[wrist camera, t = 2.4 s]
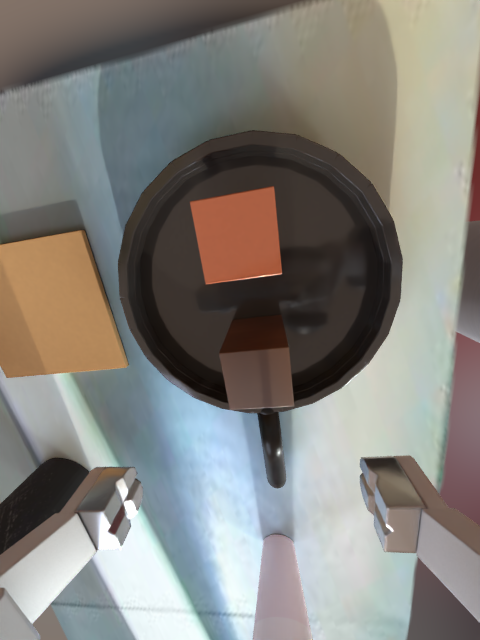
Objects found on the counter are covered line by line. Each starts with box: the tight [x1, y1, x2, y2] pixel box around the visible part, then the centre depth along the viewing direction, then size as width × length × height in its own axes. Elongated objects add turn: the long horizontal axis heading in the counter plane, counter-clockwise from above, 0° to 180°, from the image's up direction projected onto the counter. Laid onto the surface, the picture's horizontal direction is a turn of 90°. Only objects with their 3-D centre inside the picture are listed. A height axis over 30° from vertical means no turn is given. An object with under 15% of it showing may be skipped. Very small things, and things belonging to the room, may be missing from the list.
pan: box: [118, 130, 403, 413], centre depth 18 cm, size 19×19×2 cm
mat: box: [0, 230, 129, 378], centre depth 21 cm, size 13×12×1 cm
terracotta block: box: [190, 186, 282, 284], centre depth 14 cm, size 4×4×6 cm
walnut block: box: [219, 315, 294, 410], centre depth 17 cm, size 4×4×6 cm
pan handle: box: [257, 408, 286, 488], centre depth 21 cm, size 2×10×2 cm, turn 8°
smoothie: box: [253, 534, 313, 640], centre depth 22 cm, size 6×6×14 cm
